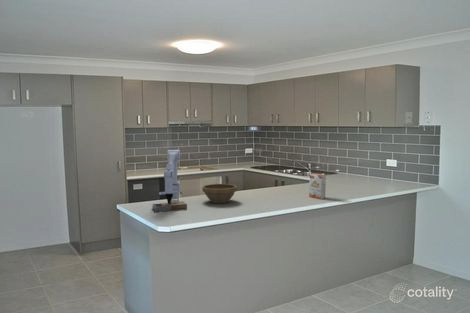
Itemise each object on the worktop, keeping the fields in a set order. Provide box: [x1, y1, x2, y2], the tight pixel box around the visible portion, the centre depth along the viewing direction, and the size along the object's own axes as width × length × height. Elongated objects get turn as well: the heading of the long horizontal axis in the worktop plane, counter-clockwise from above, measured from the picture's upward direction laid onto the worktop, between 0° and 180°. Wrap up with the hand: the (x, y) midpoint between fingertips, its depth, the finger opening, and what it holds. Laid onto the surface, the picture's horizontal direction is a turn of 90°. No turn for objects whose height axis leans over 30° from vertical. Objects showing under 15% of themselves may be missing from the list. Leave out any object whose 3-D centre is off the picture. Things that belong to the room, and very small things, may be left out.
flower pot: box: [202, 183, 238, 204], centre depth 344 cm, size 28×28×13 cm
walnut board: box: [170, 200, 188, 211], centre depth 320 cm, size 12×12×4 cm
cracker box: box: [308, 172, 327, 200], centre depth 360 cm, size 14×6×21 cm, turn 37°
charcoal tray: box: [152, 202, 172, 213], centre depth 315 cm, size 12×12×4 cm
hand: (169, 203), depth 314 cm, fingers closed
